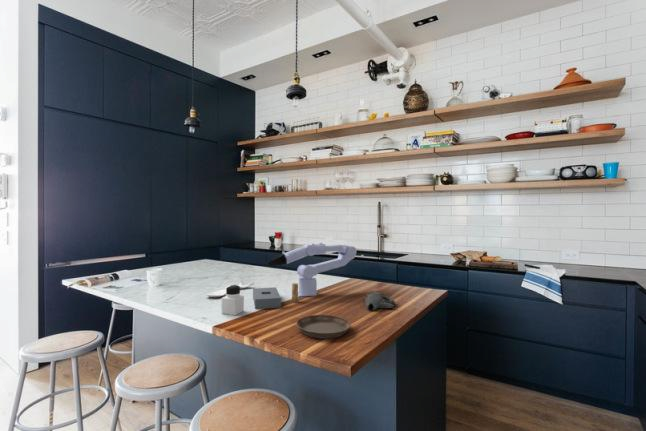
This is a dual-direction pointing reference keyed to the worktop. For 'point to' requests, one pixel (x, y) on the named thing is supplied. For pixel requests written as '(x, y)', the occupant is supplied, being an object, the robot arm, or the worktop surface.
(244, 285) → the spoon
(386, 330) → the worktop surface
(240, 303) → the medicine bottle
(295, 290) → the peg
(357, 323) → the worktop surface
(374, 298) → the grey tapered shape
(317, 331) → the plant saucer
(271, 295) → the hole block
